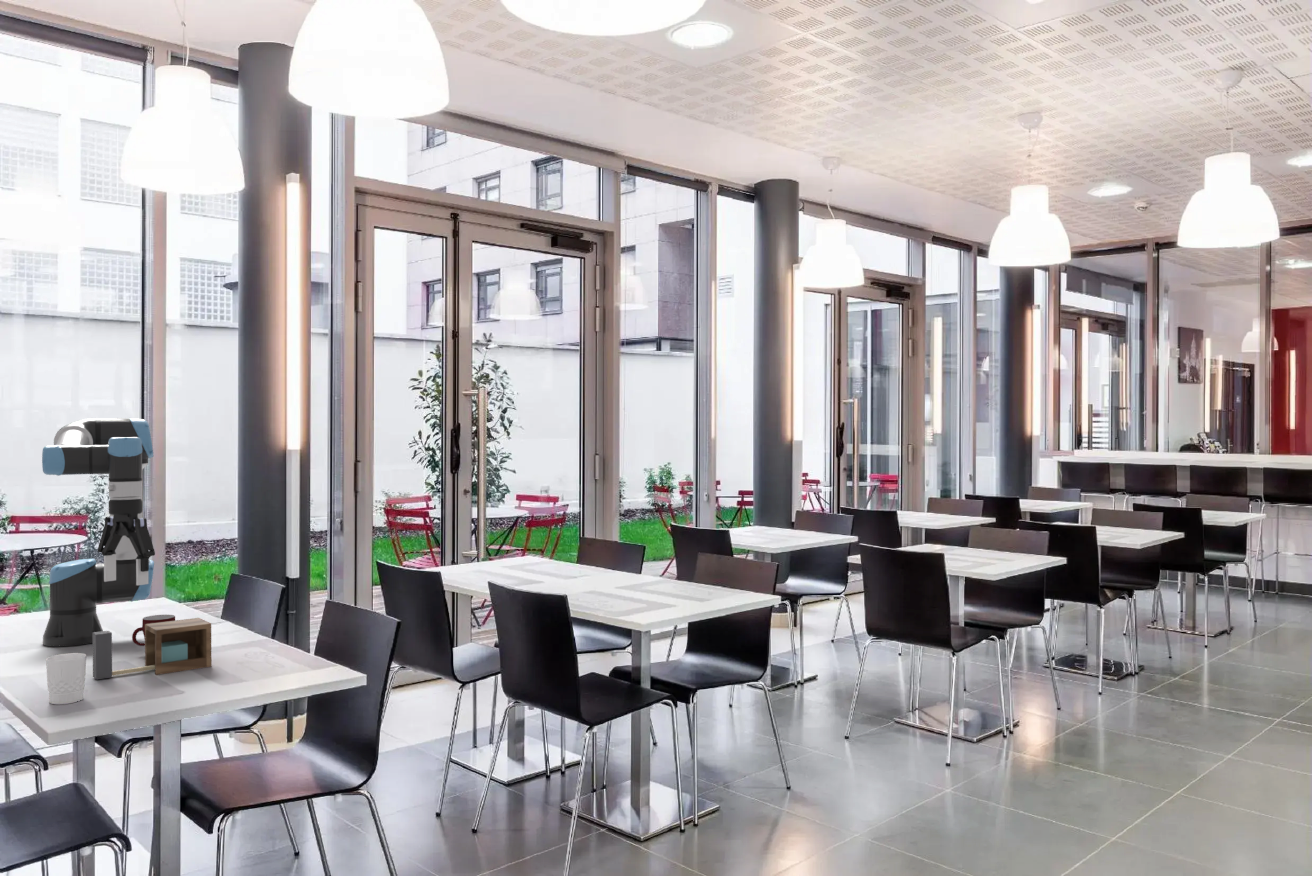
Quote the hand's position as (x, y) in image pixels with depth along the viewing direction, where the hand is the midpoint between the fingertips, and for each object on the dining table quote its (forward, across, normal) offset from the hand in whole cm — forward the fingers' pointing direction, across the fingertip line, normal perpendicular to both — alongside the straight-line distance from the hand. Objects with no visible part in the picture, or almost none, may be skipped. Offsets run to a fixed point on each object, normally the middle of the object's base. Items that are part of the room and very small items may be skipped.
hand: (126, 582), depth 250 cm
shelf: (+23, +4, +11) cm, 26 cm away
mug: (+23, -15, +17) cm, 32 cm away
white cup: (+23, +11, -21) cm, 34 cm away
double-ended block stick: (+23, +2, +3) cm, 23 cm away
